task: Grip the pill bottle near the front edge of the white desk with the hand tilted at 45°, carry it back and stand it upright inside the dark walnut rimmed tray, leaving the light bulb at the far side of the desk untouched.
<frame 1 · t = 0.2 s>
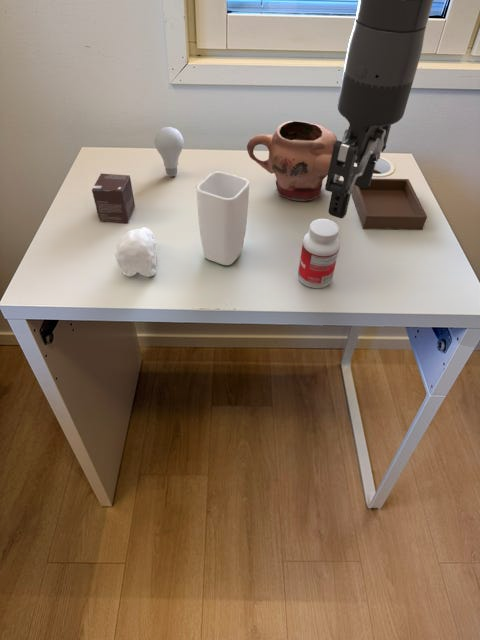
hand: (349, 200, 62), 21 cm above the table, tool pointing down, fingers open, 8 cm apart
pink face mug: (290, 191, 103), on the table
tray: (384, 209, 99), on the table
white lumpy curved piece: (142, 263, 85), on the table
lightbulb: (172, 176, 106), on the table
pill bottle: (314, 278, 84), on the table
cup: (223, 256, 87), on the table
box: (117, 215, 95), on the table
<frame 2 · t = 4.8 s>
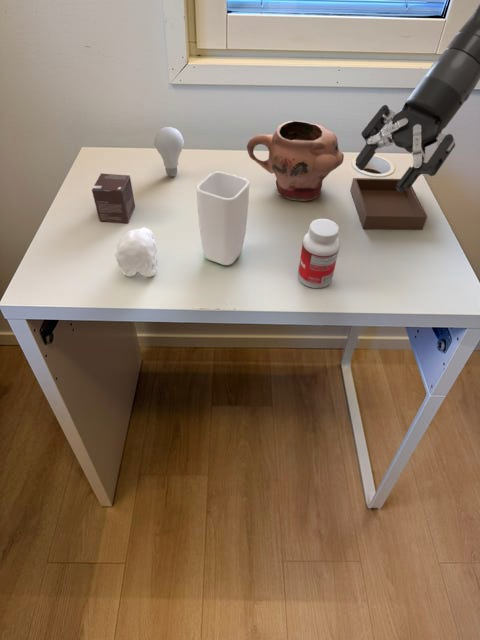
hand: (377, 178, 77), 16 cm above the table, tool tilted 45°, fingers open, 8 cm apart
nothing on the table moved.
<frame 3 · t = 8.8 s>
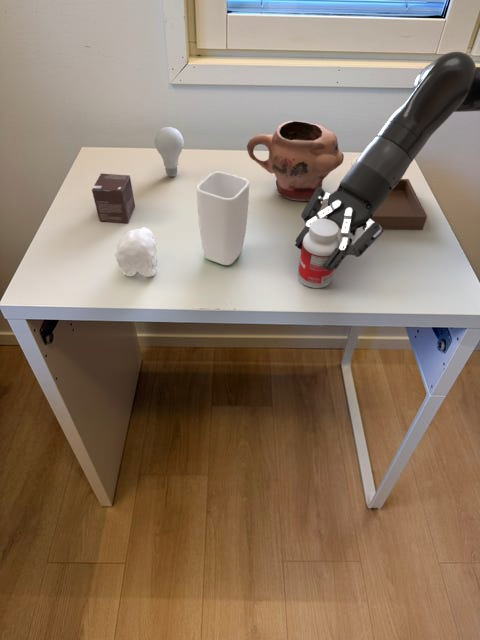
hand: (312, 258, 79), 5 cm above the table, tool tilted 45°, fingers closed on pill bottle, 6 cm apart
pill bottle: (314, 278, 84), on the table, touching gripper
everything else where it was.
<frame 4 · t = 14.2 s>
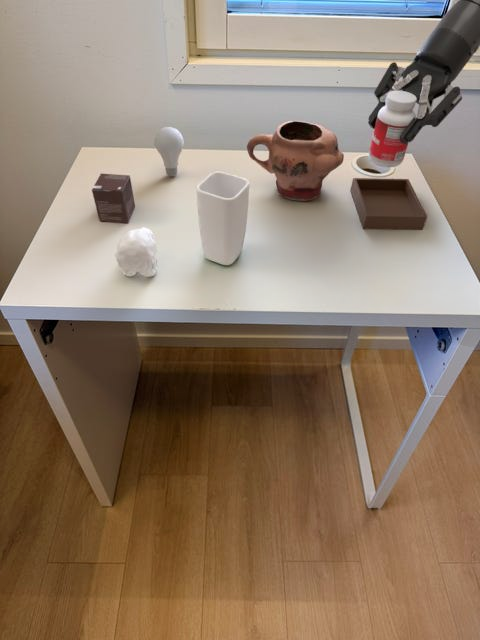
hand: (386, 133, 79), 20 cm above the table, tool tilted 45°, fingers closed on pill bottle, 6 cm apart
pill bottle: (384, 160, 84), point 15 cm above the table, touching gripper
everything else where it was.
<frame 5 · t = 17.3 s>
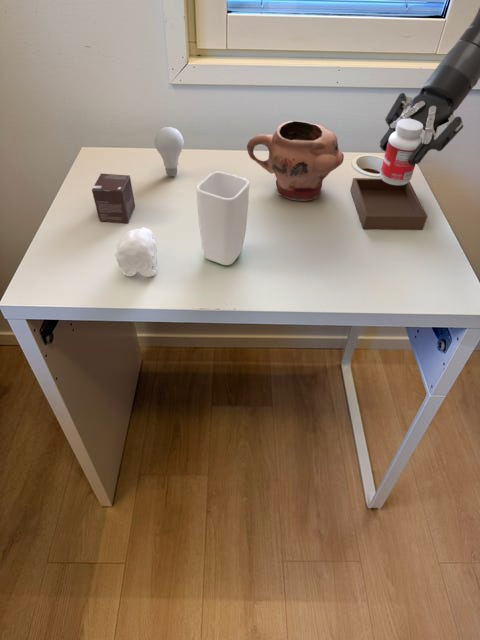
hand: (396, 156, 89), 13 cm above the table, tool tilted 45°, fingers closed on pill bottle, 6 cm apart
pill bottle: (394, 179, 94), point 7 cm above the table, touching gripper
everything else where it was.
when the fingers open (6 cm above the table, at t = 19.7 s): pill bottle stays where it is, resting on tray.
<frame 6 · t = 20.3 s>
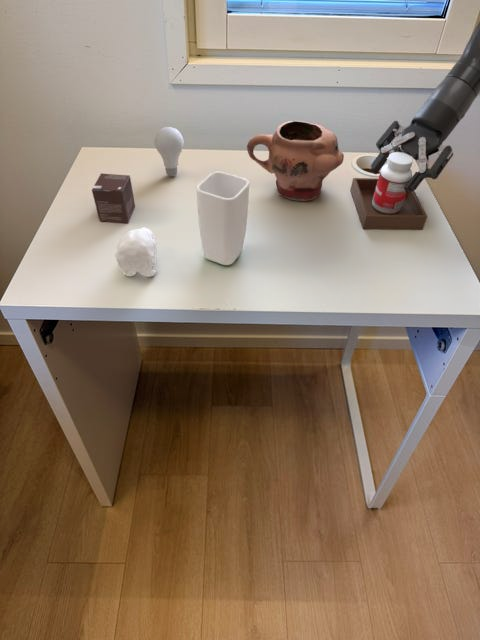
hand: (389, 181, 93), 7 cm above the table, tool tilted 45°, fingers open, 8 cm apart
pill bottle: (385, 207, 99), resting on tray
everything else where it was.
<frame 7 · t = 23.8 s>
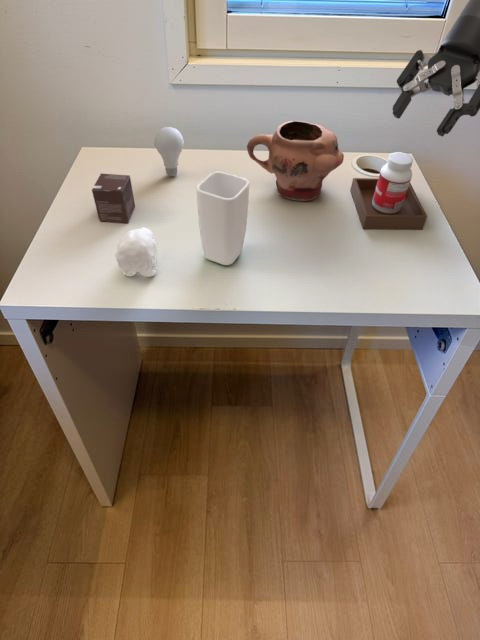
hand: (416, 124, 77), 22 cm above the table, tool tilted 40°, fingers open, 8 cm apart
nothing on the table moved.
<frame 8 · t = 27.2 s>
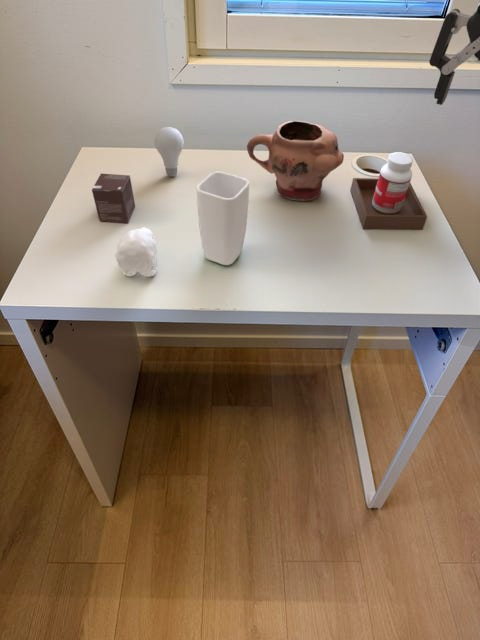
hand: (472, 110, 62), 30 cm above the table, tool pointing down, fingers open, 8 cm apart
nothing on the table moved.
at the end: pill bottle inside the target area in the tray (0.1 cm from its centre), point 0.4 cm above the tray's base; pill bottle tilted 0°; lightbulb moved 0.2 cm from its start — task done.
